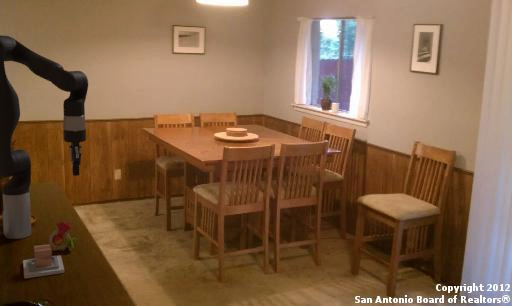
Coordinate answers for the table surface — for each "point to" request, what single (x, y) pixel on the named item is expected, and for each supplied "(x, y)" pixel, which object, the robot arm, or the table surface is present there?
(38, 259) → the terracotta block
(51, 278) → the table surface
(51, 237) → the bird rattle
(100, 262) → the table surface
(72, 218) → the table surface
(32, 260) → the socket plate
